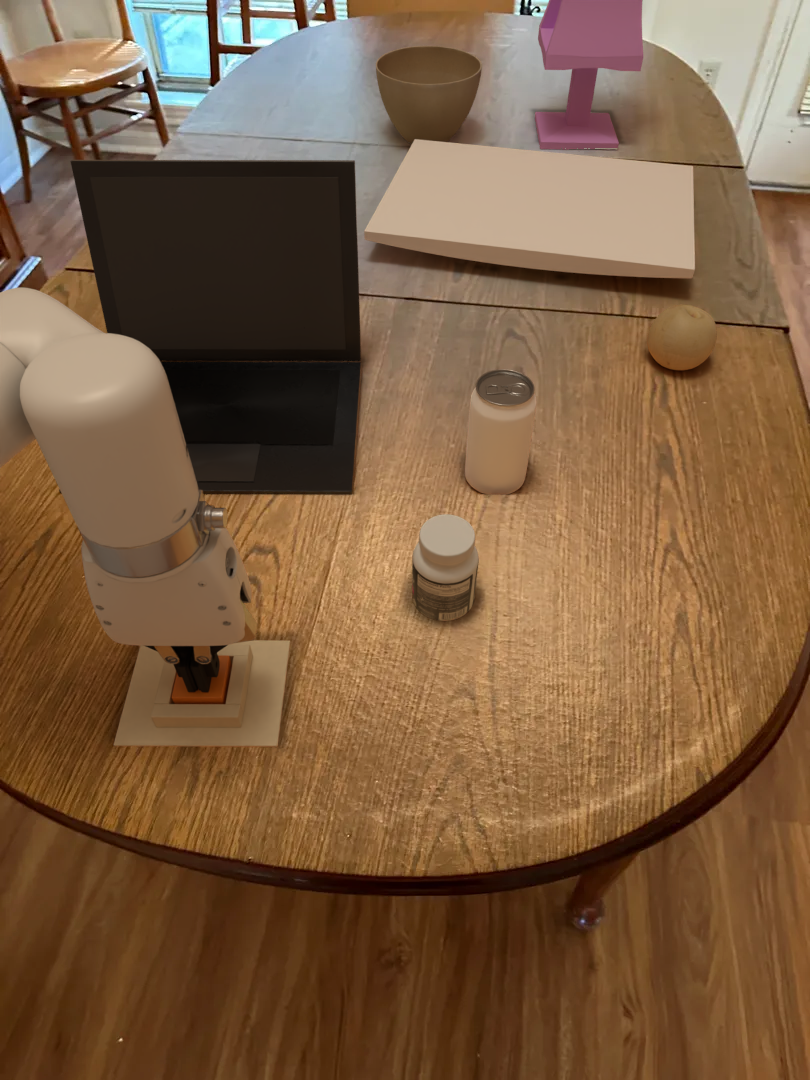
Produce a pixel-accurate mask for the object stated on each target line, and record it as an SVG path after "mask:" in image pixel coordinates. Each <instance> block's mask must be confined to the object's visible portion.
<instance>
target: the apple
mask: <svg viewBox="0 0 810 1080" xmlns="http://www.w3.org/2000/svg"><path fill="white" fill-rule="evenodd" d="M717 339H718V330H717V324H716V322H715V320H714V318H713V317H712V315H710V313H708V312H707V311H705V310H703V309H702V308H700V307H697V306H694V305H692V304H684V303H683V304H682V303H681V304H680V303H679V304H675V305H672V306H670V307H667V308H666V309H664V310H663V311H662V312H660V313H659V314H658V315H657V316H656V317H655V319H654V320H653V321H652V322H651V325H650V327H649V329H648V332H647V336H646V345H647V350H648V352H649V354H650V355H651V357H652V358H653V359H654V360H655V362H656V363H657V364H659V365H660V366H662V367H664V368H665V369H669V370H671V371H688V370H692V369H695V368H697V367H698V366H701V364H703V363H704V362H705V361H706V360H708V358H709V356H710V355H712V352H713V350H714V348H715V346H716V343H717Z"/></svg>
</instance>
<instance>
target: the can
mask: <svg viewBox="0 0 810 1080" xmlns="http://www.w3.org/2000/svg"><path fill="white" fill-rule="evenodd" d="M469 402H470V403H469V408H468V409H469V411H468V423H467V436H466V450H465V463H464V464H465V465H464V477H465V480H466V482H467V483H468V485H469V486H470V487H471V488H473V489H474V490H475V491H476V492H478V493H480V494H483V495H486V496H488V495H491V496H493V495H494V496H495V495H497V496H498V495H500V496H502V495H503V496H504V495H510V494H513V493H515V492H516V491H518V490H519V489H520V488H521V487H522V486H523V485H524V483H525V481H526V478H527V477H526V476H527V471H528V469H527V468H528V465H529V464H528V463H529V457H530V451H531V445H532V437H533V431H534V426H535V418H536V412H537V396H536V394H535V384H534V383H533V380H531V378H530V377H528V375H526V374H524V373H522V372H520V371H517V370H513V369H508V368H498V369H492V370H489V371H486V372H484V373H483V374H481V375H480V376H479V377H478V379H477V380H476V382H475V387H474V389H473V390H472V391H471V395H470V400H469Z"/></svg>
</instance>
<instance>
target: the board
mask: <svg viewBox="0 0 810 1080" xmlns="http://www.w3.org/2000/svg"><path fill="white" fill-rule="evenodd" d="M694 192H695V191H694V166H693V165H687V164H686V165H684V164H677V163H676V164H675V163H665V162H655V161H645V160H634V159H624V158H614V157H613V158H612V157H604V156H594V155H593V156H592V155H585V154H584V155H583V154H572V153H563V152H562V153H561V152H552V151H542V150H533V149H532V150H530V149H523V148H522V149H521V148H510V147H501V146H491V145H480V144H470V143H457V142H450V141H448V142H439V141H429V140H418V139H415V140H414V142H413V143H412V144H410V147H409V149H408V151H407V153H406V154H405V156H404V158H403V160H402V161H401V163H400V165H399V167H398V169H397V171H396V173H395V174H394V176H393V178H392V180H391V182H390V183H389V185H388V186H387V188H386V191H385V193H384V194H383V197H382V198H381V200H380V202H379V203H378V205H377V207H376V209H375V211H374V213H373V214H372V216H371V217H370V219H369V222H368V224H367V225H366V227H365V229H364V231H363V232H364V233H363V234H364V235H363V236H364V241H369V242H373V243H378V244H383V245H386V246H392V247H396V248H399V249H405V250H410V251H415V252H421V253H426V254H432V255H437V256H443V257H448V258H455V259H459V260H466V261H475V262H480V263H485V264H493V265H501V266H509V267H516V268H523V269H524V268H525V269H531V270H541V271H542V270H543V271H550V272H551V271H552V272H553V271H554V272H560V273H561V272H562V273H571V274H573V273H575V274H584V275H585V274H586V275H597V276H598V275H599V276H614V277H615V276H617V277H631V278H633V277H634V278H635V277H636V278H656V279H657V278H658V279H659V278H660V279H663V278H664V279H693V277H694V275H695V270H696V254H695V251H696V249H695V203H694V198H695V197H694V196H695V195H694V194H695V193H694Z"/></svg>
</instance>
